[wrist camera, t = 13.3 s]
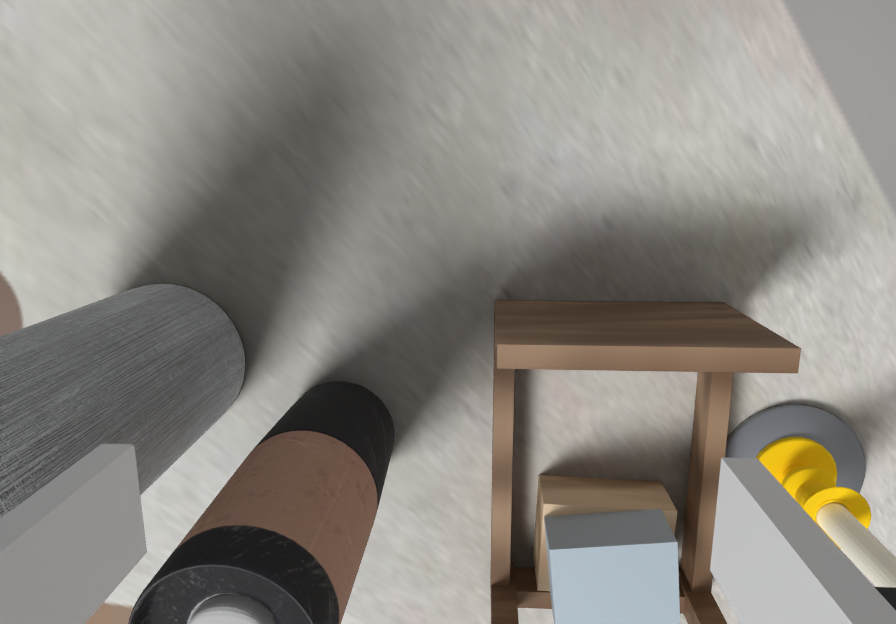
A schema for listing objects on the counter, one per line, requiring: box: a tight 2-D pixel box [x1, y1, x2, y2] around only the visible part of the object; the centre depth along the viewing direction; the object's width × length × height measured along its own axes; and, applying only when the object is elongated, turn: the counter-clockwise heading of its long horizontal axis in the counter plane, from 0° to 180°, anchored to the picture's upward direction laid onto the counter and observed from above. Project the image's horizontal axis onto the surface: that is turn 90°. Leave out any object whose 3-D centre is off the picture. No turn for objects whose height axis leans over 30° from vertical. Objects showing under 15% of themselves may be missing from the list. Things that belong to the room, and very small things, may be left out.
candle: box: [756, 437, 896, 588], centre depth 34 cm, size 5×5×16 cm
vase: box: [0, 284, 245, 518], centre depth 30 cm, size 10×10×27 cm
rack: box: [491, 300, 801, 624], centre depth 38 cm, size 20×14×10 cm
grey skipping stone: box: [725, 404, 865, 493], centre depth 42 cm, size 9×9×1 cm
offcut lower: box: [533, 475, 677, 591], centre depth 42 cm, size 6×8×4 cm
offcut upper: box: [544, 509, 680, 624], centre depth 38 cm, size 6×7×4 cm
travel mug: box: [129, 382, 394, 624], centre depth 34 cm, size 8×8×20 cm
